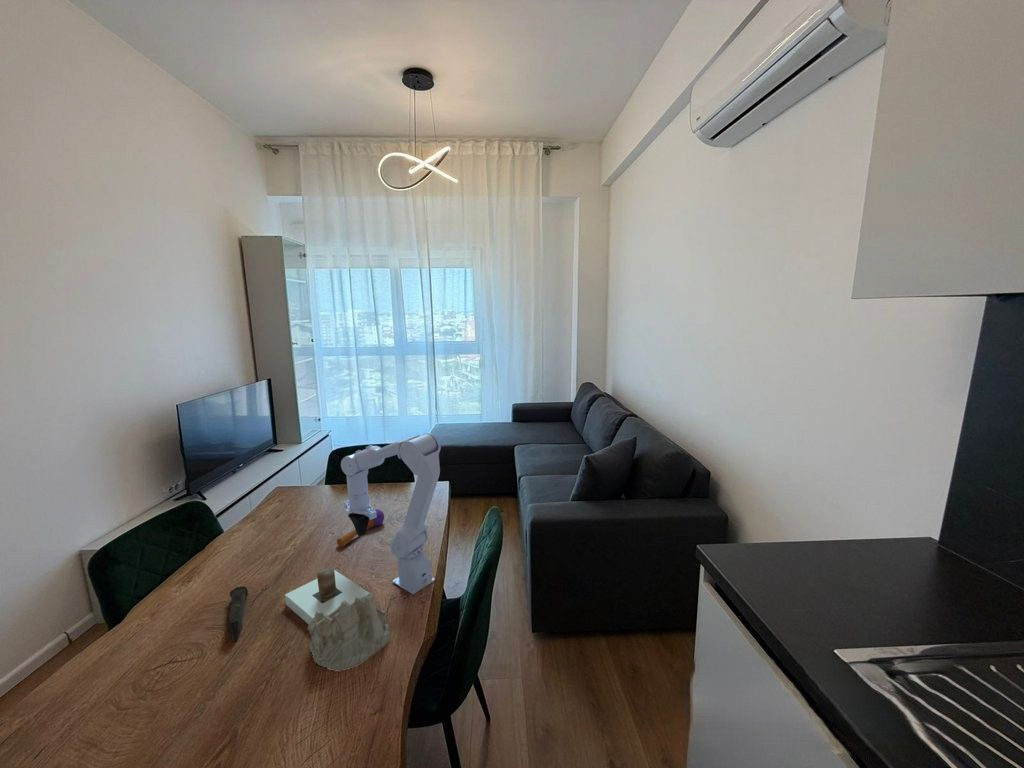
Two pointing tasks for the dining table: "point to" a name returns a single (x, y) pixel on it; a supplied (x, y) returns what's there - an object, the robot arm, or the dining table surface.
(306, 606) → the sage board
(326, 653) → the pale grey lumpy mound
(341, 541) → the kendama
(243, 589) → the hand tool
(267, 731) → the dining table surface
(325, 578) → the walnut peg
